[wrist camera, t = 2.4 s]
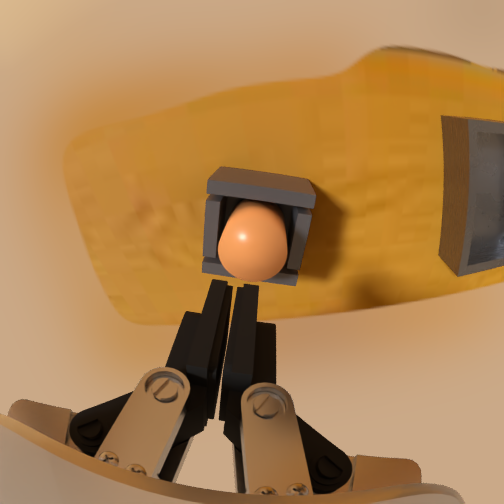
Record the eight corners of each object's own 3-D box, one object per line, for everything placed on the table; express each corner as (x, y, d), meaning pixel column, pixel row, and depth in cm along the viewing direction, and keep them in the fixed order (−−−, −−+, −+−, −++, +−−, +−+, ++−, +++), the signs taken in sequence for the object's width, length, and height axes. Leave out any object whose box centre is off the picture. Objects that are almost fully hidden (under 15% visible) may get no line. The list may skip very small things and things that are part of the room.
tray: (510, 122, 14) (536, 129, 11) (502, 242, 19) (522, 260, 16) (441, 115, 15) (467, 119, 12) (438, 255, 20) (457, 276, 17)
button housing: (308, 179, 19) (316, 195, 15) (292, 256, 21) (295, 286, 18) (220, 166, 19) (207, 179, 15) (213, 244, 21) (202, 272, 18)
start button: (289, 201, 17) (293, 225, 14) (279, 252, 19) (280, 285, 16) (232, 193, 17) (220, 215, 14) (226, 244, 19) (215, 276, 16)
